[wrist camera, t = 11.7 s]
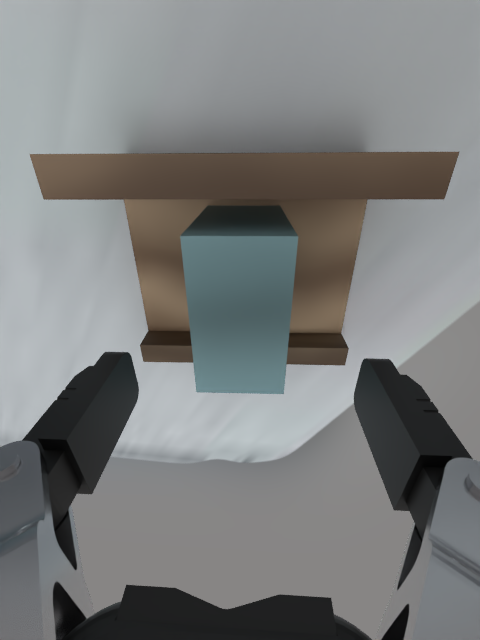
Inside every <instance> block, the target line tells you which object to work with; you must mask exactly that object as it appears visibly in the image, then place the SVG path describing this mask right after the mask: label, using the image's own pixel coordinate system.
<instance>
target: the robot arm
mask: <svg viewBox="0 0 480 640" xmlns="http://www.w3.org/2000/svg"><path fill="white" fill-rule="evenodd" d="M138 392H139V388H138V382H137V378H136V374H135V370H134V366H133V362H132V358H131V355H130V354H129V353H128V352H105V353H104V354H103V355H102V356H101V357H100V359H99V360H98V361H97V362H96V364H95V365H94V366H89V367H87V368H86V369H84V370H83V371H81V372H80V373H79V374H77V375H76V376H75V377H74V378H73V379H72V380H71V382H70V383H69V384H68V385H67V386H66V389H65V390H63V391H62V393H61V394H60V395H59V396H58V397H57V400H55V401H54V402H53V403H52V405H51V406H50V407H49V408H48V410H47V411H46V412H45V413H44V414H43V416H42V417H41V418H40V419H39V421H38V422H37V423H36V424H35V425H34V427H33V428H32V429H31V430H30V432H29V433H28V434H27V435H26V436H25V438H24V439H23V440H22V441H16V442H12V443H9V444H7V445H4V446H2V447H0V640H372V639H371V638H369V636H367V635H366V634H365V633H363V632H362V631H360V629H358V628H357V627H356V626H354V625H353V624H351V623H349V622H347V621H346V620H344V619H343V618H341V617H338V616H336V615H334V613H333V607H332V601H331V598H324V597H309V596H293V595H276V596H273V597H270V598H266V599H263V600H259V601H256V602H253V603H249V604H246V605H243V606H239V607H236V608H232V609H222V608H219V607H217V606H214V605H212V604H210V603H208V602H205V601H203V600H201V599H199V598H197V597H194V596H192V595H190V594H188V593H185V592H183V591H181V590H179V589H176V588H167V587H151V586H135V585H126V588H125V591H124V594H123V598H122V601H121V602H118V603H115V604H113V605H111V606H109V607H106V608H104V609H102V610H100V611H99V612H97V613H94V609H93V604H92V601H91V597H90V594H89V591H88V588H87V586H86V583H85V579H84V575H83V571H82V564H81V558H80V553H79V546H78V540H77V534H76V528H75V523H74V516H73V511H72V507H71V503H72V501H73V499H74V498H75V496H76V494H78V493H79V494H92V493H93V491H94V489H95V487H96V485H97V482H98V481H99V479H100V477H101V474H102V472H103V470H104V468H105V466H106V464H107V462H108V460H109V458H110V456H111V454H112V452H113V450H114V448H115V446H116V444H117V442H118V439H119V437H120V435H121V433H122V431H123V429H124V427H125V425H126V423H127V421H128V419H129V417H130V415H131V413H132V411H133V409H134V407H135V404H136V402H137V399H138ZM354 405H355V410H356V413H357V415H358V418H359V420H360V423H361V426H362V428H363V431H364V434H365V436H366V439H367V441H368V444H369V447H370V449H371V452H372V454H373V457H374V460H375V462H376V465H377V467H378V470H379V472H380V475H381V478H382V480H383V483H384V485H385V488H386V490H387V493H388V496H389V498H390V501H391V504H392V506H393V509H394V510H401V511H410V513H411V515H412V518H413V520H414V523H413V525H412V528H411V531H410V534H409V538H408V541H407V544H406V548H405V551H404V555H403V558H402V561H401V565H400V568H399V572H398V575H397V578H396V582H395V585H394V589H393V592H392V595H391V598H390V601H389V603H388V605H387V608H386V610H385V613H384V615H383V617H382V621H381V623H380V626H379V629H378V632H377V635H376V638H375V640H480V461H477V460H473V459H472V458H471V456H470V455H469V453H468V452H467V450H466V449H465V448H464V446H463V445H462V443H461V442H460V440H459V439H458V438H457V436H456V435H455V433H454V432H453V431H452V429H451V428H450V426H449V425H448V424H447V422H446V421H445V419H444V418H443V416H442V415H441V414H440V413H438V409H437V408H436V407H435V405H434V404H433V402H430V398H429V397H428V395H427V394H426V393H425V391H424V390H423V388H422V387H421V386H420V385H419V384H418V383H416V382H415V381H414V380H412V379H411V378H410V377H409V376H407V375H400V374H399V372H398V371H397V369H396V368H395V366H394V364H393V363H392V362H391V360H389V359H364V360H363V362H362V364H361V368H360V372H359V376H358V380H357V384H356V388H355V392H354Z"/></svg>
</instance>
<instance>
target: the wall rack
mask: <svg viewBox="0 0 480 640" xmlns="http://www.w3.org/2000/svg"><path fill="white" fill-rule="evenodd" d="M458 155H459V152H339V153H169V154H30V157H31V160H32V163H33V167H34V170H35V173H36V176H37V179H38V183H39V186H40V189H41V192H42V195H43V198H44V199H124V203H125V208H126V213H127V219H128V224H129V229H130V235H131V240H132V245H133V251H134V256H135V261H136V266H137V272H138V277H139V282H140V288H141V293H142V298H143V304H144V309H145V314H146V320H147V325H148V330H149V331H148V333H147V334H146V336H145V338H144V339H143V341H142V343H141V344H140V347H141V352H142V357H143V361H144V362H192V363H193V353H192V344H191V334H190V325H189V315H188V306H187V296H186V287H185V277H184V268H183V258H182V249H181V239H180V236H181V234H182V233H183V232H184V231H185V230H186V229H187V228H188V227H189V226H190V225H191V223H192V222H193V221H194V220H195V219H196V218H197V217H198V216H199V215H200V213H201V212H202V211H203V210H204V209H205V208H206V207H207V206H281V208H282V210H283V211H284V213H285V215H286V216H287V218H288V220H289V222H290V223H291V225H292V227H293V228H294V230H295V232H296V233H297V235H298V245H297V255H296V266H295V277H294V288H293V298H292V309H291V320H290V331H289V341H288V352H287V363H286V364H304V365H345V363H346V358H347V353H348V349H349V348H348V346H347V344H346V342H345V340H344V338H343V336H342V335H341V331H342V326H343V321H344V316H345V311H346V306H347V300H348V295H349V290H350V285H351V280H352V275H353V270H354V265H355V260H356V255H357V250H358V245H359V240H360V235H361V229H362V224H363V219H364V214H365V209H366V204H367V199H444V198H445V195H446V192H447V189H448V186H449V183H450V180H451V177H452V173H453V170H454V167H455V164H456V161H457V158H458Z"/></svg>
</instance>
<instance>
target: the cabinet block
mask: <svg viewBox="0 0 480 640" xmlns="http://www.w3.org/2000/svg"><path fill="white" fill-rule="evenodd" d="M180 239H181V249H182V258H183V268H184V277H185V287H186V296H187V306H188V315H189V325H190V334H191V344H192V353H193V363H194V372H195V382H196V392H212V393H260V394H284V384H285V373H286V363H287V352H288V341H289V331H290V320H291V309H292V298H293V288H294V277H295V266H296V255H297V245H298V235H297V233H296V232H295V230H294V228H293V227H292V225H291V223H290V222H289V220H288V218H287V216H286V215H285V213H284V211H283V210H282V208H281V206H207V207H206V208H205V209H204V210H203V211H202V212H201V213H200V215H199V216H198V217H197V218H196V219H195V220H194V221H193V222H192V223H191V225H190V226H189V227H188V228H187V229H186V230H185V231H184V232H183V233H182V234H181V236H180Z"/></svg>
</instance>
